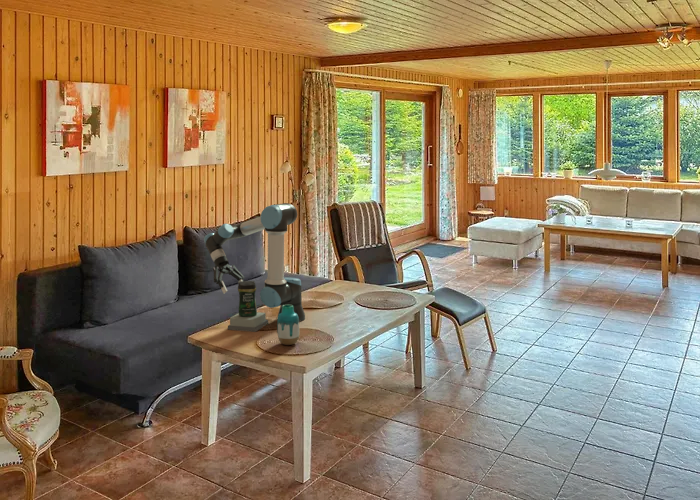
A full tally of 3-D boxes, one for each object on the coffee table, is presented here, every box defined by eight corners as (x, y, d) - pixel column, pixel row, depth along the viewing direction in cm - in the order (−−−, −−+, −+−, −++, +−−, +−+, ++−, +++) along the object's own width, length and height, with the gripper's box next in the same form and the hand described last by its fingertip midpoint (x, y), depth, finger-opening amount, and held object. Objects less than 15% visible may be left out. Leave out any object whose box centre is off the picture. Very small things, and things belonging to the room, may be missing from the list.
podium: (268, 323, 346) (267, 312, 345) (255, 331, 331) (255, 320, 330) (241, 321, 351) (240, 310, 350) (227, 329, 336) (227, 318, 335)
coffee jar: (238, 317, 336) (237, 283, 332) (238, 313, 343) (237, 279, 340) (257, 316, 337) (256, 282, 334) (257, 312, 345) (255, 279, 342)
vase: (300, 340, 317) (299, 302, 313) (299, 347, 306) (298, 308, 303) (278, 340, 316) (277, 303, 313) (276, 347, 306) (275, 308, 302)
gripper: (233, 261, 366) (248, 293, 359) (198, 263, 346) (213, 297, 339) (240, 254, 362) (256, 286, 355) (205, 256, 342) (221, 289, 335)
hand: (235, 291), depth 347 cm, fingers open, 13 cm apart
